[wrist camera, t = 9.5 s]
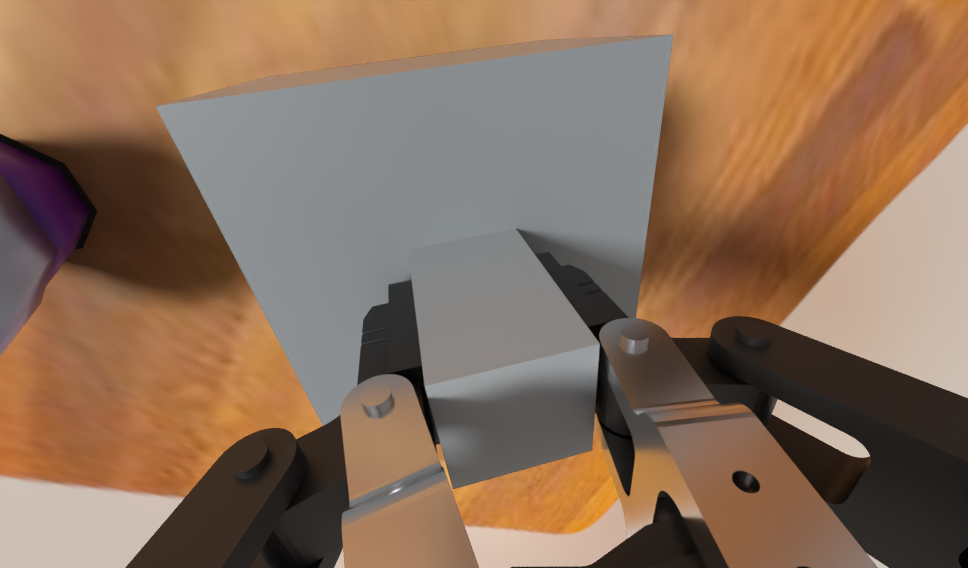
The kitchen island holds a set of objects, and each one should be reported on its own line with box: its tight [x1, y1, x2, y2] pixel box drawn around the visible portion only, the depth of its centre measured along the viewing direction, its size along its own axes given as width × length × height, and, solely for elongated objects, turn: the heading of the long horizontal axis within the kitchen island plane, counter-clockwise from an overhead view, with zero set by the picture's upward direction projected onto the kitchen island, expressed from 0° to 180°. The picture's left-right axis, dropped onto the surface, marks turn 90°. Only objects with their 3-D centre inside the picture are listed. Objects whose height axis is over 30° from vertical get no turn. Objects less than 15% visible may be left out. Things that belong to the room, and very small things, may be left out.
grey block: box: [156, 35, 673, 489], centre depth 13 cm, size 11×11×14 cm
